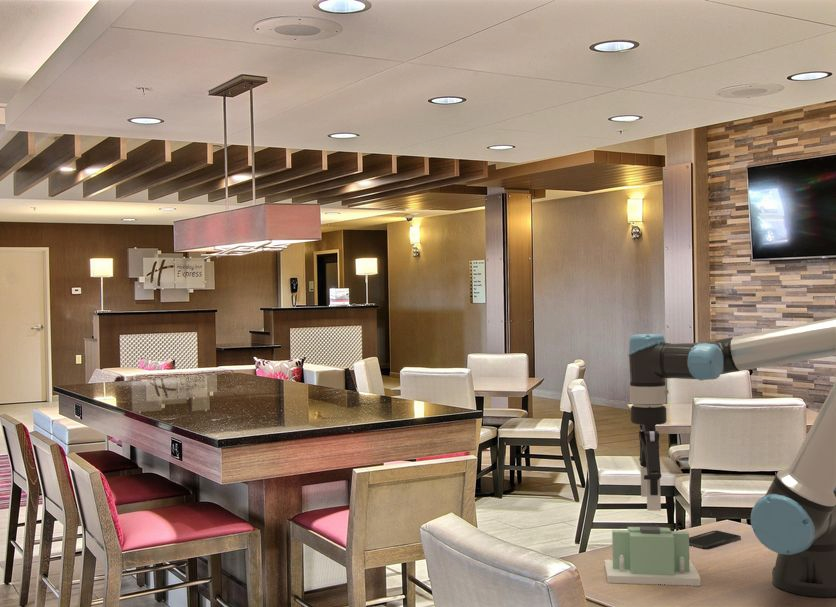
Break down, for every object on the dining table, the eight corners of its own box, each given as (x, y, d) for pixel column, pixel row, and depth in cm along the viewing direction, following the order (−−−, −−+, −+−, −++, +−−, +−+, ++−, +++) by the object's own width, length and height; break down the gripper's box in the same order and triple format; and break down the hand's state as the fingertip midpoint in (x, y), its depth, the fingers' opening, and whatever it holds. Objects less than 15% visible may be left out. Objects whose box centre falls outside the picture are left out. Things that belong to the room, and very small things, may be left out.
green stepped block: (686, 564, 194) (685, 524, 194) (691, 575, 187) (691, 533, 187) (611, 562, 197) (611, 522, 197) (614, 573, 189) (613, 532, 189)
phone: (679, 540, 217) (715, 529, 226) (679, 544, 217) (715, 534, 226) (706, 547, 211) (743, 536, 220) (707, 551, 211) (743, 540, 220)
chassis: (692, 568, 196) (691, 546, 196) (700, 585, 184) (700, 562, 184) (604, 566, 199) (604, 543, 199) (607, 582, 187) (607, 559, 187)
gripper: (673, 411, 179) (676, 516, 179) (659, 399, 204) (661, 491, 203) (635, 411, 180) (637, 516, 180) (626, 399, 205) (628, 491, 205)
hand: (650, 503), depth 192 cm, fingers open, 13 cm apart
